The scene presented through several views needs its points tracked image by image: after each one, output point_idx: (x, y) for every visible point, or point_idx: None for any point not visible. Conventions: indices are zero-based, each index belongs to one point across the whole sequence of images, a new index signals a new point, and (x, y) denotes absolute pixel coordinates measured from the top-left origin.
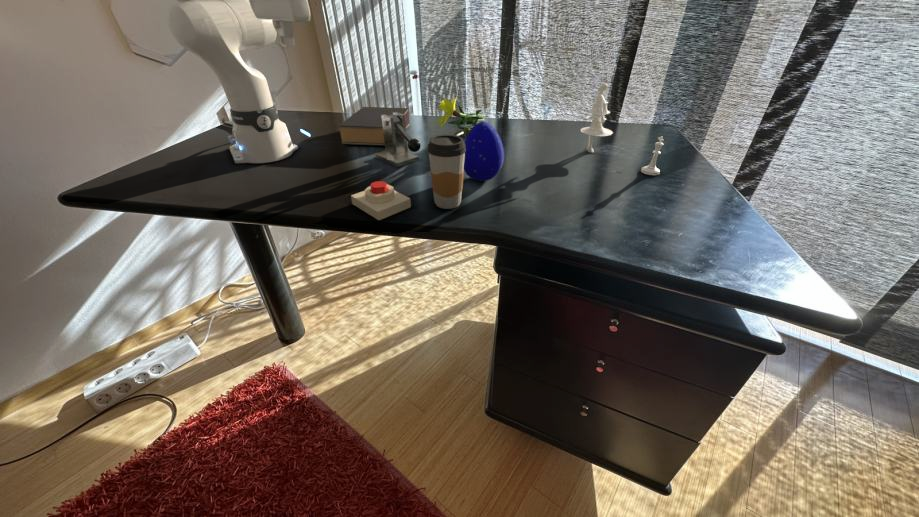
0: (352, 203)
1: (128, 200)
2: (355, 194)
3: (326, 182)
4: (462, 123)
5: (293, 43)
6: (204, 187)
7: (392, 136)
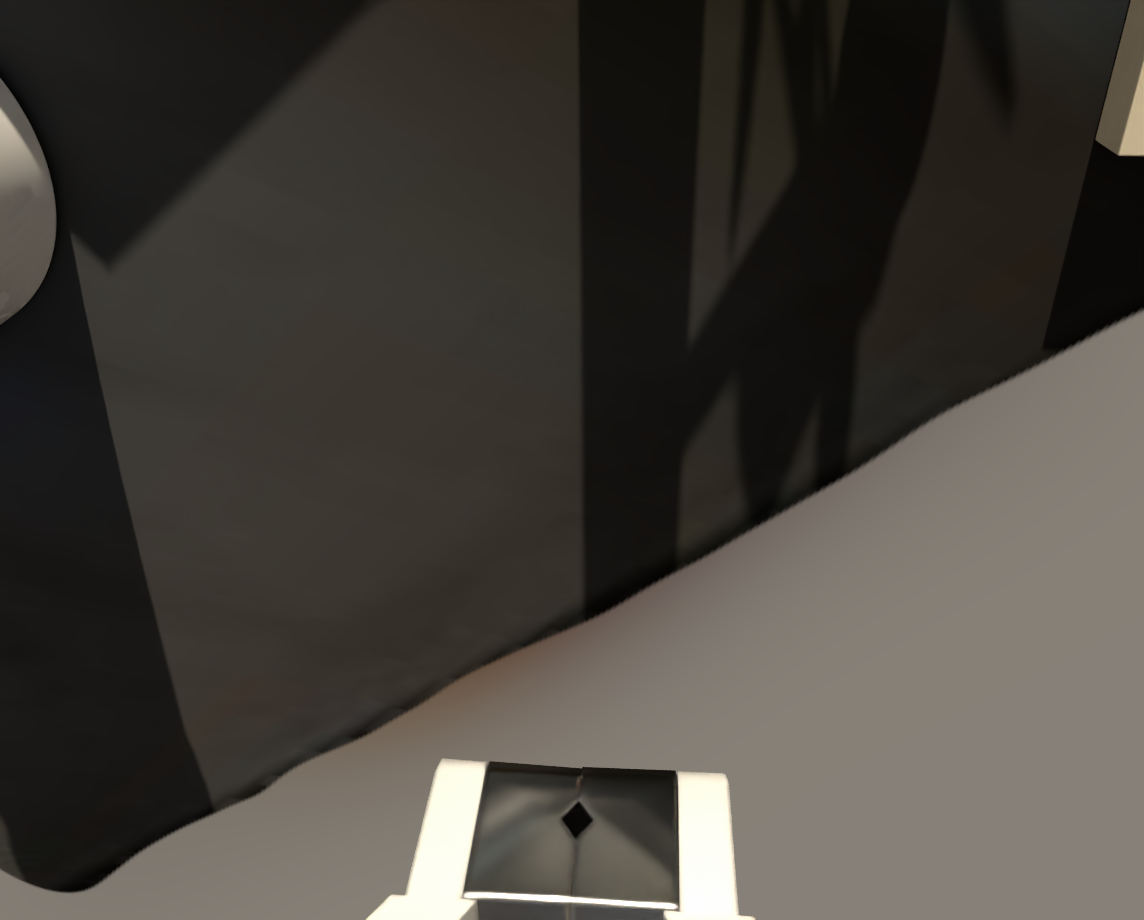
0: (1099, 140)
1: (229, 793)
2: (1137, 123)
3: (660, 89)
4: None
5: (723, 813)
6: (261, 589)
7: None
